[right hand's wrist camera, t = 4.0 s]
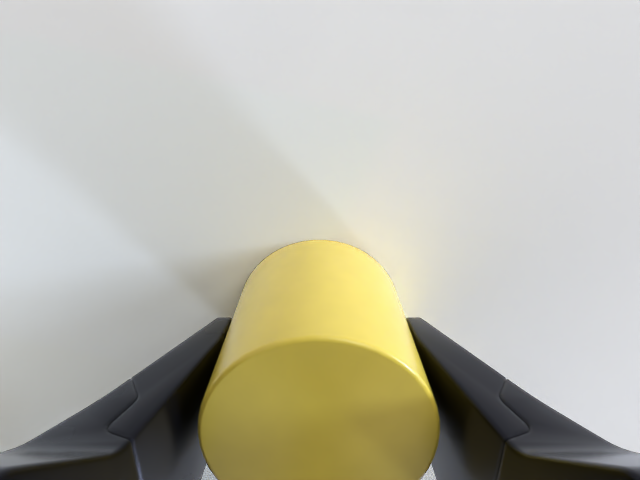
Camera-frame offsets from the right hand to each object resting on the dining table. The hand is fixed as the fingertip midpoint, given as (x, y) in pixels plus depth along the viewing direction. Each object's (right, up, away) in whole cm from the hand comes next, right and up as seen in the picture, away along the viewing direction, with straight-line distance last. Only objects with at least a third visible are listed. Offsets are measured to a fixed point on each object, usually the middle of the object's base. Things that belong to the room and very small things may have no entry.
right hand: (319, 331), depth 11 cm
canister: (0, 0, +1) cm, 1 cm away
